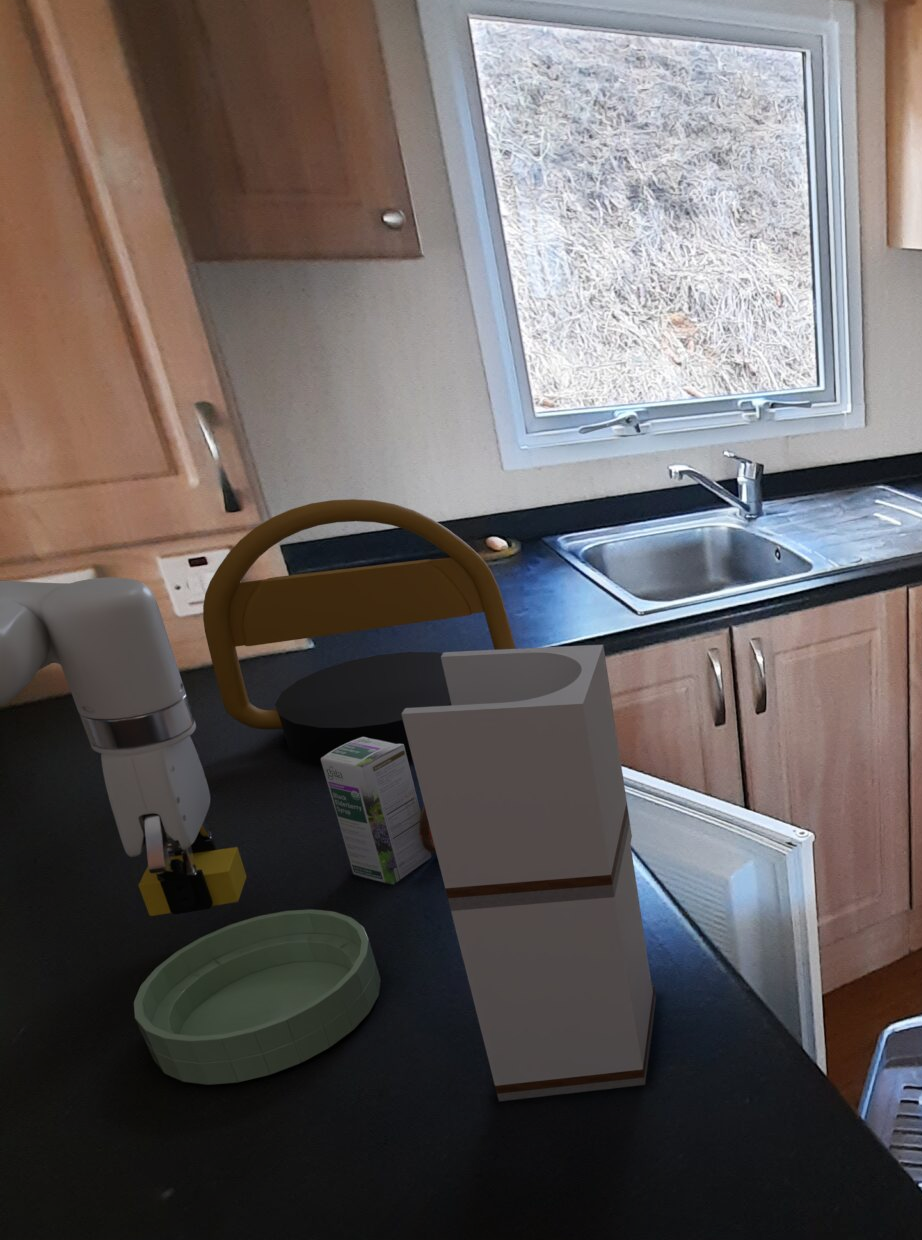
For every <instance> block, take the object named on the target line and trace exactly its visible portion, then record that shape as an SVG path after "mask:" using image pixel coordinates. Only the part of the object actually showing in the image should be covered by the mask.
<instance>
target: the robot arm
mask: <svg viewBox="0 0 922 1240" xmlns="http://www.w3.org/2000/svg"><path fill="white" fill-rule="evenodd" d="M51 664H58V665H60V666H61V669H62V672H63V674H64V677H65V679H66V683H67V685H68V688H69V690H70V691H69V692H70V693H71V696H72V699H73V701H74V705H75V707H76V709H77V712H78V714H79V717H80V720H81V723H82V725H83V728H84V730H85V733H86V736H87V739H88V742H89V745H90V747H91V749H92V750H93V751H94V752H96V753H99V754H100V755H101V756H100V760H101V768H102V769H101V770H102V774H103V779H104V784H105V788H106V792H107V796H108V800H109V804H110V807H111V811H112V814H113V818H114V821H115V824H116V827H117V831H118V834H119V838H120V840H121V844H122V847H123V849H124V852H125V854H126V855H127V856H128V857H130V858H136V857H138V856H141V855H142V853H143V851H144V849H145V847H146V849H145V850H146V857H147V858H146V859H147V867H148V869H149V872H150V873H152V874H156V876H157V879H158V881H159V882H160V884H161V886H162V889H163V892H164V895H165V898H166V900H167V903H168V906H169V909H170V911H171V913H170V914H173V915H180V914H186V913H187V914H188V913H192V912H197V911H205V910H210V909H212V907H213V906H212V904H213V901H212V898H211V895H210V892H209V889H208V886H207V883H206V880H205V877H204V874H203V871H202V869H201V870H197V868H196V864H195V860H194V855H193V853H200V852H206V851H213V850H218V849H217V847H216V842H215V840H213V839H212V838H213V833H212V829H211V827H210V825H209V822H208V821H207V818H206V817H207V814H208V812H209V809H210V806H211V793H210V788H209V784H208V781H207V777H206V774H205V771H204V768H203V765H202V762H201V760H200V757H199V754H198V752H197V749H196V747H195V746H196V745H195V744H194V742H193V739H192V735H193V734H194V732H196V729H197V724H196V720H195V718H194V715H193V711H192V708H191V705H190V701H189V698H188V695H187V692H186V688H185V686H184V682H183V680H182V676H181V673H180V670H179V667H178V664H177V660H176V657H175V654H174V651H173V648H172V645H171V642H170V638H169V635H168V631H167V629H166V626H165V622H164V620H163V616H162V613H161V609H160V606H159V603H158V601H157V598H156V596H155V593H154V592H153V591H152V589H151V588H150V587H149V586H148V585H147V584H145V583H144V582H143V581H139V580H137V579H134V578H130V577H129V578H128V577H117V576H116V577H114V576H112V577H111V576H109V577H96V578H88V579H83V580H77V581H73V582H69V583H67V582H65V583H64V582H63V583H62V582H38V581H20V580H19V581H18V580H0V706H1V705H3V704H5V703H8V702H10V701H11V700H13V699H14V698H16V697H18V695H19V694H21V693H22V691H23V690H24V689H25V688H26V687H27V686H28V685H29V683H30V682H31V681H32V680H33V678H34V677H35V676H36V675H37V674H38V671H40V670H42V669H43V668H45V667H47V666H50V665H51ZM168 840H169V841H170V840H172V841H174V842H172V843H168ZM172 853H174V856H180V855H182V858H183V861H181V860H179V859H172V858H170V857H171V856H170V854H172Z"/></svg>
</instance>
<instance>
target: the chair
mask: <svg viewBox="0 0 922 1240" xmlns="http://www.w3.org/2000/svg"><path fill="white" fill-rule="evenodd" d="M351 522H361V523H377V524H382V525H388V526H394V527H397V528H399V529H402V530H405V531H408V532H410V533H413V534H414V535H416V536H419V537H421V538H423V539H425V540H426V541H428V542H430V543H431V544H433V545H435V547H437V548H438V549H440V550H441V551H442V552H444V553H445V554H446V555H447V556H449V557H444V558H435V559H429V558H426V559H419V560H410V561H401V562H394V563H393V562H392V563H384V564H376V565H375V564H374V565H367V566H357V567H351V568H341V569H332V570H325V571H323V570H322V571H317V572H316V571H315V572H306V573H299V574H289V575H283V576H282V575H280V576H273V577H269V578H264V579H256V580H248V581H242V580H243V579H244V577H245V576H246V575H247V573H248V571H249V570H250V568H251V567H252V566H253V565H254V564H255V563H256V562H257V561H258V559H259V558H260V557H261V556H262V555H264V554H266V552H267V551H269V550H270V549H271V548H272V547H274V546H275V545H277V544H278V543H281V542H282V541H283V540H285V539H286V538H287V539H288V538H289V537H292V536H293V535H295V534H298V533H300V532H303V531H305V530H308V529H309V530H310V529H311V528H315V527H318V526H323V525H330V524H336V523H351ZM481 613H483V614H484V618H485V620H486V624H487V628H488V631H489V635H490V639H491V642H492V646H493V650H502V649H517V648H516V644H515V639H514V637H513V632H512V629H511V625H510V621H509V618H508V613H507V610H506V606H505V602H504V600H503V596H502V592H501V589H500V587H499V584H498V581H497V579H496V578H495V576H494V573H493V571H492V570H491V568H490V567H489V565H488V564H487V562H486V561H485V559H484V558H482V557H481V555H480V554H479V553H478V552H477V551H476V550H475V549H473V547H471V546H470V545H469V544H468V543H467V542H466V541H464V540H463V539H462V538H461V537H459V536H458V535H457V534H455V533H454V532H453V531H451V529H448V528H447V527H445V525H442V524H441V523H439V522H437V521H436V520H434V519H433V518H431V517H429V516H427V515H424V514H423V513H420V512H418V511H416V510H414V509H411V508H408V507H405V506H402V505H398V504H396V503H391V502H385V501H379V500H374V499H356V498H355V499H354V498H351V499H350V498H349V499H329V500H324V501H319V502H318V501H317V502H312V503H307V504H304V505H300V506H298V507H294V508H291V509H288V510H286V511H284V512H282V513H280V514H276V515H274V516H273V517H270V518H269V519H267V520H266V521H264V522H262V523H261V524H259V525H257V526H255V527H254V528H253V529H251V530H250V531H249V532H248V533H247V534H246V535H244V536H243V537H242V538H241V539H239V541H238V542H237V543H236V544H235V545H234V546H233V548H231V550H230V551H229V552H228V553H227V554H226V556H225V557H224V559H223V560H222V562H221V563H220V564H219V566H218V567H217V569H216V571H215V572H214V574H213V576H212V577H211V579H210V581H209V583H208V586H207V588H206V590H205V593H204V600H203V605H202V620H203V629H204V634H205V638H206V643H207V647H208V651H209V655H210V660H211V663H212V667H213V671H214V676H215V679H216V683H217V686H218V691H219V694H220V697H221V698H220V699H221V701H222V704H223V707H224V710H225V711H226V714H228V716H230V717H231V718H232V719H234V720H236V722H239V723H241V724H242V725H244V726H247V727H249V728H252V729H257V730H282V732H283V735H284V737H285V741H286V744H287V747H288V749H289V753H290V755H291V756H292V757H294V758H296V759H298V760H299V761H300V762H302V763H304V764H306V765H311V766H316V767H321V768H323V766H322V763H321V758H322V757H323V756H325V755H326V754H328V753H329V752H331V751H332V750H334V749H336V748H338V747H340V746H341V745H344V744H346V743H348V742H350V741H353V740H355V739H358V738H361V737H367V738H371V739H376V740H381V741H386V742H390V743H394V744H404V747H405V751H406V755H407V759H408V762H410V761H413V758H412V754H411V750H410V746H409V742H408V738H407V734H406V730H405V726H404V722H403V718H402V712H403V711H404V709H405V708H417V707H435V706H452V704H451V700H450V695H449V691H448V687H447V682H446V678H445V673H444V669H443V665H442V660H441V656H442V654H443V653H444V652H436V651H405V652H395V653H394V652H393V653H387V654H386V653H385V654H377V655H372V656H367V657H362V658H357V659H352V660H347V661H345V662H341V663H338V664H335V665H331V666H329V667H325V668H322V669H319V670H317V671H315V672H313V673H310V674H308V675H305V676H304V677H302V678H300V679H298V680H296V681H295V682H294V683H292V684H290V685H289V686H288V687H287V688H286V689H284V690H282V691H281V692H280V694H279V696H278V698H277V699H276V701H275V704H274V705H275V708H276V709H262V708H259V707H257V706H255V705H254V704H252V703H251V702H250V700H249V697H248V692H247V689H246V685H245V681H244V677H243V673H242V669H241V664H240V661H239V657H238V653H237V648H236V647H253V646H254V647H255V646H261V645H268V644H275V643H283V642H288V641H297V640H305V639H312V638H319V637H325V636H332V635H339V634H346V633H347V634H348V633H354V632H362V631H368V630H375V629H383V628H389V627H390V628H391V627H396V626H397V627H398V626H403V625H405V626H406V625H411V624H418V623H425V622H433V621H439V620H448V619H454V618H462V617H468V616H471V615H473V614H481Z"/></svg>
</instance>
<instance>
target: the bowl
mask: <svg viewBox="0 0 922 1240" xmlns="http://www.w3.org/2000/svg"><path fill="white" fill-rule="evenodd" d="M381 978H382V977H381V975H380V972H379V969H378V966H377V963H376V959H375V956H374V952H373V949H372V945H371V942H370V939H369V937H368V934H367V932H366V929H365V927H364V925H362V924H360V923H359V922H358V921H357V920H356V919H354V918H353V917H351V916H348V915H345V914H343V913H339V912H337V911H331V910H323V909H313V908H312V909H295V910H294V909H293V910H284V911H278V912H273V913H268V914H263V915H258V916H254V917H251V918H248V919H247V918H246V919H244V920H241V921H238V922H235V923H232V924H231V923H230V924H228V925H226V926H224V927H222V928H219V929H217V930H214V931H213V932H210V933H208V934H205V935H203V936H202V937H199V938H197V939H196V940H194V941H193V942H190V943H189V944H187V945H186V946H183V947H182V948H181V949H179V950H177V951H175V952H174V953H173V954H171V955H170V956H169V957H167V959H165V960H164V961H162V963H160V964H159V965H158V966H156V967H155V968H154V969H153V971H151V973H150V974H149V975H148V976H147V977H146V978H145V980H144V981H143V982H142V983H141V984H140V986H139V989H138V991H137V993H136V996H135V998H134V1001H133V1012H134V1013H133V1014H134V1019H135V1022H136V1023H137V1026H138V1029H139V1031H140V1033H141V1036H142V1037H143V1040H144V1042H145V1044H146V1045H147V1048H148V1051H149V1053H150V1056H151V1057H152V1060H153V1062H154V1063H155V1064H156V1065H157V1066H158V1068H159V1069H160V1070H161V1071H162V1073H164V1074H165V1075H167V1076H169V1077H171V1078H174V1079H176V1080H178V1081H180V1082H183V1083H192V1084H199V1085H206V1086H208V1085H210V1086H212V1085H225V1084H236V1083H241V1082H245V1081H246V1082H247V1081H250V1080H255V1079H259V1078H263V1077H268V1076H270V1075H274V1074H276V1073H279V1072H282V1071H284V1070H287V1069H289V1068H292V1067H294V1066H298V1065H299V1064H302V1063H304V1062H306V1061H308V1060H309V1059H312V1058H313V1057H315V1056H317V1055H319V1054H321V1053H323V1052H325V1051H326V1050H328V1049H330V1048H331V1047H333V1046H334V1045H335V1044H337V1043H338V1042H339V1041H341V1040H342V1039H343V1038H345V1037H347V1035H349V1034H351V1033H352V1032H353V1031H354V1030H355V1029H356V1028H357V1027H358V1026H359V1025H360V1024H361V1022H363V1021H364V1020H365V1018H366V1017H367V1016H368V1015H369V1014H370V1012H371V1011H372V1009H373V1007H374V1005H375V1003H376V1002H377V999H378V998H379V995H380V989H381V982H382V981H381V980H382V979H381Z"/></svg>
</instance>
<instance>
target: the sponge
mask: <svg viewBox="0 0 922 1240" xmlns="http://www.w3.org/2000/svg"><path fill="white" fill-rule="evenodd" d="M193 855H194V860H195V864H196V868H197V870H201V869H202V871H203V874H204V877H205V880H206V883H207V886H208V889H209V892H210V895H211V898H212V901H213V904H212V906H211V907H215V906H216V907H217V906H221V905H226V904H233V903H238V902H239V901H240V897H241V895H242V892H243V889H244V885H245V883H246V880H247V873H246V870H245V867H244V864H243V860H242V858H241V857H242V856H241V853H240V851H239V848H238V846H234V847H228V848H221V849H220V848H219V849H217V850H213V851H206V852H200V853H193ZM169 857H170V858H172V859H179V860H181V861H183V858H182V855H180V856H175V855H173V856H169ZM138 888H139V892H140V894H141V896H142V899H143V902H144V904H145V908H146V910H147V913H148V915H149V917H154V916H161V915H165V914H172V913H171V911H170V909H169V906H168V903H167V900H166V898H165V895H164V892H163V889H162V886H161V884H160V882H159V881H158V879H157V876H156V874H152V873H150V872H149V869H148V866H146V869H145V870H144V873H143V875H142V876H141V879H140V881H139V883H138Z"/></svg>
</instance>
